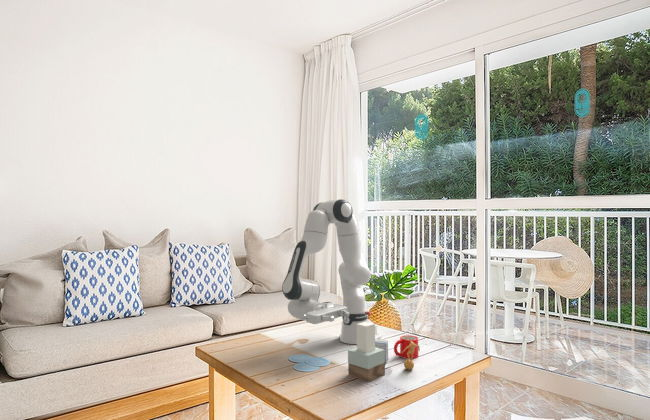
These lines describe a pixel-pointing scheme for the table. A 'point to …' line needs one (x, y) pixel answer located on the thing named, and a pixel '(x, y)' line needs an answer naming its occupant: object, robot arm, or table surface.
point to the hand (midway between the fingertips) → (340, 316)
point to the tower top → (366, 358)
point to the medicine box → (382, 347)
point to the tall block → (366, 337)
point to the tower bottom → (366, 372)
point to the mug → (404, 343)
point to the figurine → (409, 363)
